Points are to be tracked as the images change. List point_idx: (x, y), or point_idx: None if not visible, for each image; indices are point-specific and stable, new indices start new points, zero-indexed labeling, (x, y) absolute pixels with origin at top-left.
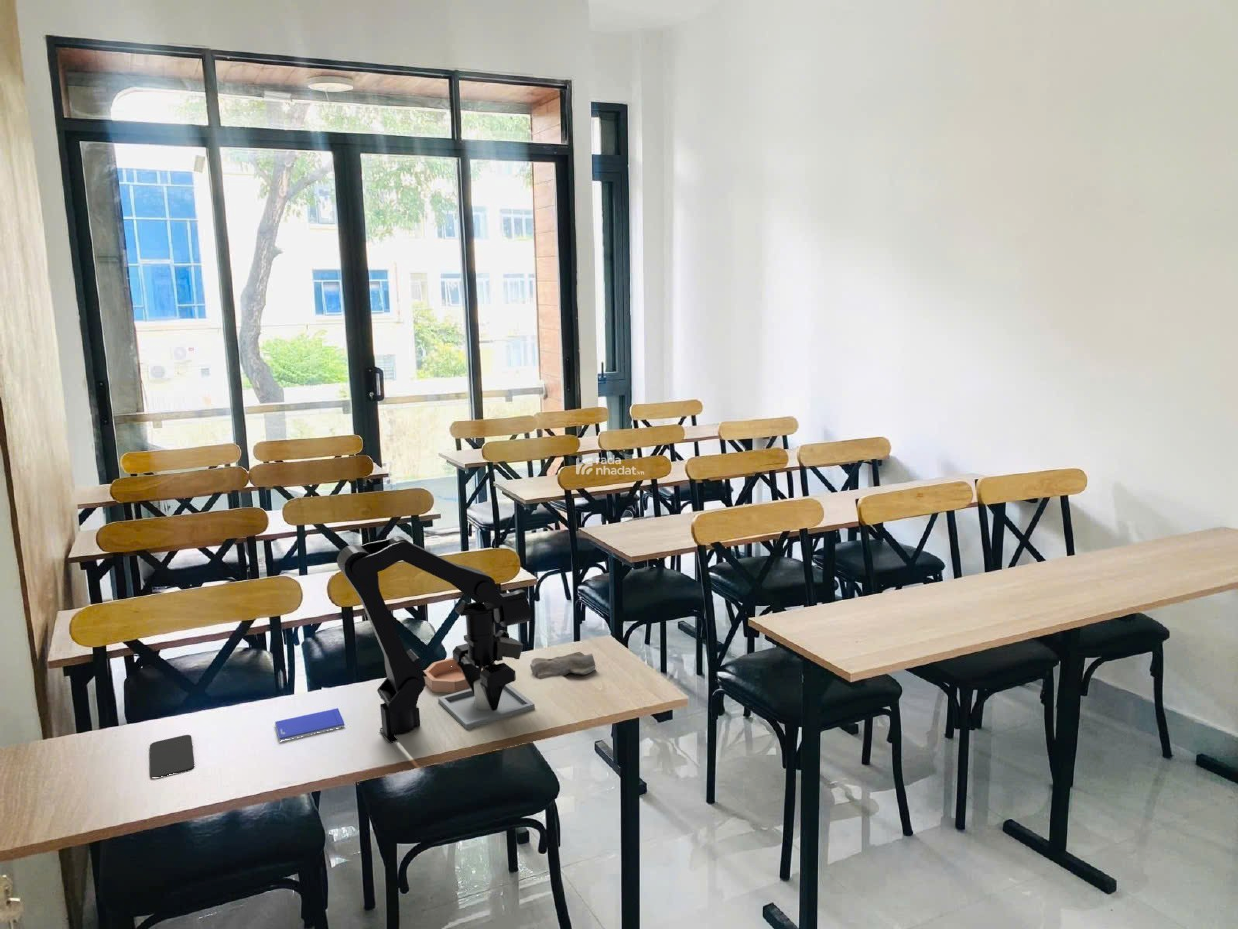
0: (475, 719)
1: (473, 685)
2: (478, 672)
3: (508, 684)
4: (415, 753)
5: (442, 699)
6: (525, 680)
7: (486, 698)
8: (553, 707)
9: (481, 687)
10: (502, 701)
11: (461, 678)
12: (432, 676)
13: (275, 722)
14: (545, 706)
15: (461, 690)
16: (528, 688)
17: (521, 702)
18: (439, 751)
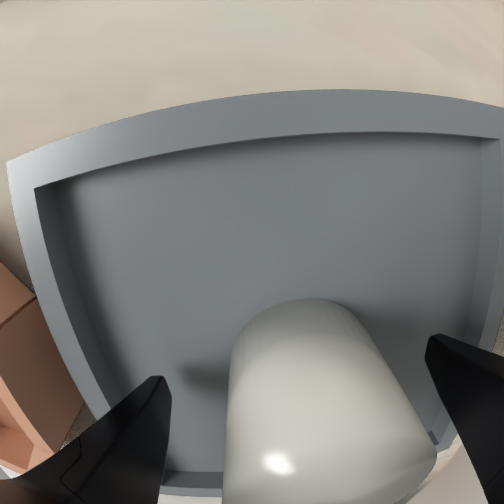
0: (449, 427)
1: (157, 458)
2: (95, 501)
3: (90, 134)
4: (407, 495)
5: (174, 492)
6: (29, 26)
7: (462, 437)
8: (449, 8)
9: (395, 501)
10: (311, 250)
11: (18, 422)
12: (11, 465)
13: None
14: (428, 24)
15: (63, 398)
16: (124, 9)
17: (405, 133)
18: (443, 464)
